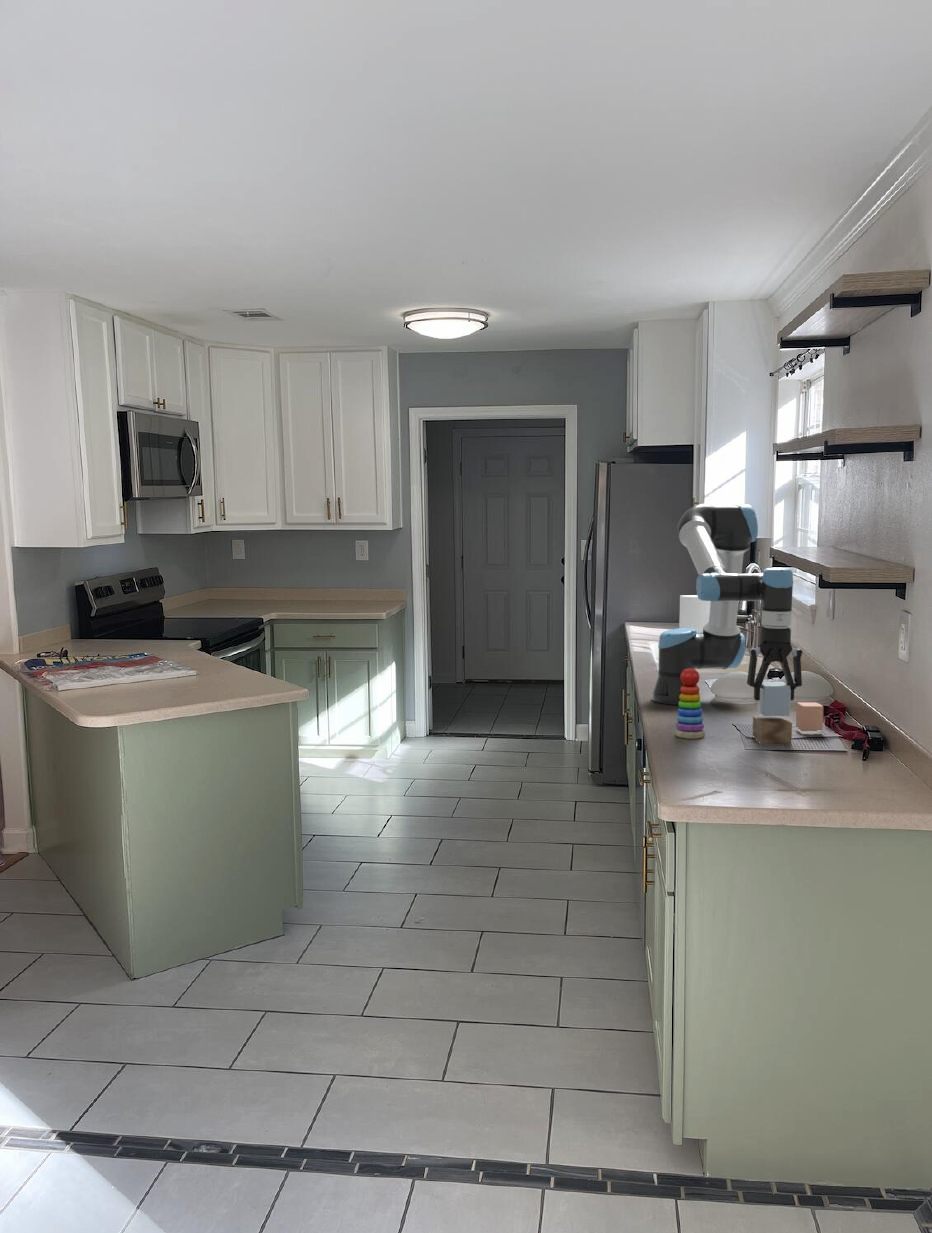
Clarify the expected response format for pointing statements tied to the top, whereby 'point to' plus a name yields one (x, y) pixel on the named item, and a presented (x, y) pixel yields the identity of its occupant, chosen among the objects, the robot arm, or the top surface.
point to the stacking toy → (689, 707)
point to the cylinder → (693, 612)
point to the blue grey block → (775, 698)
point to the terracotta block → (809, 716)
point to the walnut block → (772, 730)
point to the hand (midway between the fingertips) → (773, 712)
